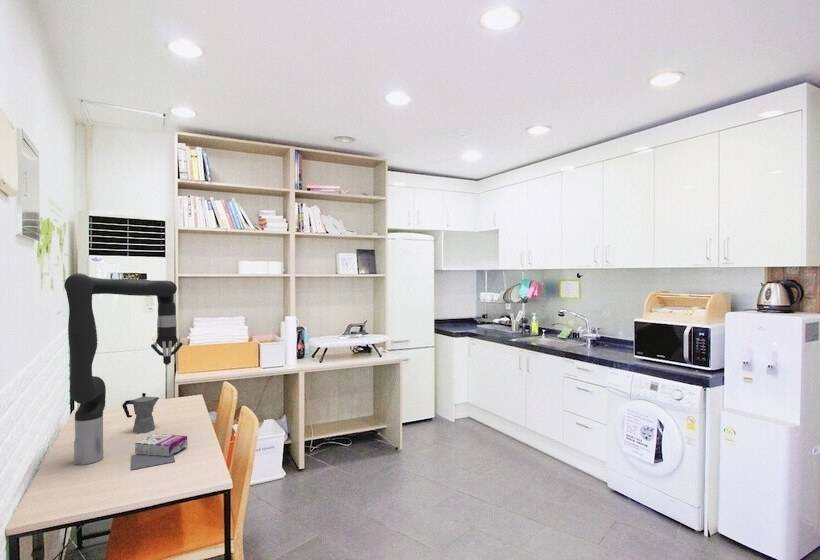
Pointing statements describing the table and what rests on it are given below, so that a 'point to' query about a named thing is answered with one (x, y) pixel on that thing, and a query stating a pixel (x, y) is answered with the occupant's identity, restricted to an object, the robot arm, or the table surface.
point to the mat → (149, 461)
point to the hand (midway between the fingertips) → (167, 364)
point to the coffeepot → (142, 413)
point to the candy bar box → (161, 445)
